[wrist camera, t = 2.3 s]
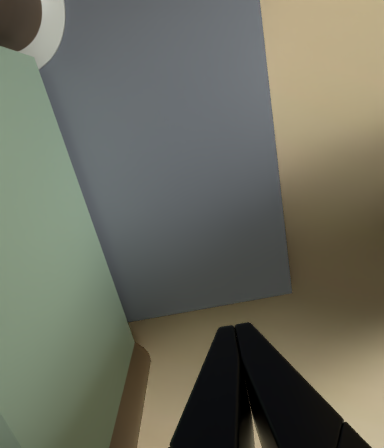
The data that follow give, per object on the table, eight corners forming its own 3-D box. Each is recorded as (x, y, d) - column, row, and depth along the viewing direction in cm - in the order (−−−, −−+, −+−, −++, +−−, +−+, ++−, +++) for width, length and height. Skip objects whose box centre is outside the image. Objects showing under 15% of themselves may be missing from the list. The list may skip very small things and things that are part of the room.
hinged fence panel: (48, 54, 8) (-247, -61, 3) (155, 374, 13) (127, 589, 7) (-20, 70, 8) (-429, -5, 3) (109, 382, 13) (44, 598, 7)
